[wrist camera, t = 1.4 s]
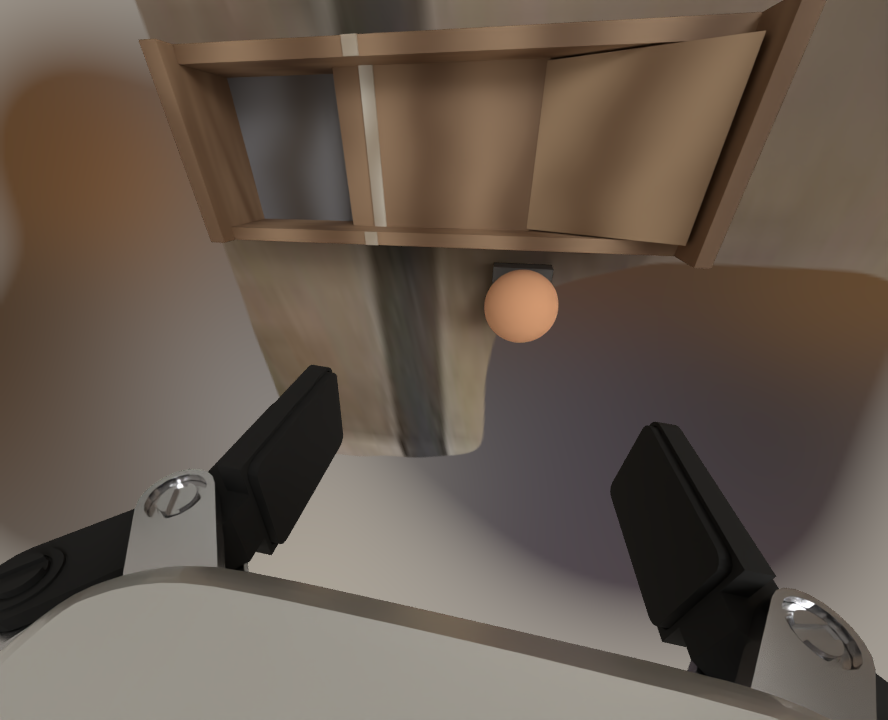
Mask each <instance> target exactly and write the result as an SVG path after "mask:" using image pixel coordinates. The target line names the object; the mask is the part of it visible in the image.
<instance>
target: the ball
mask: <svg viewBox="0 0 888 720" xmlns="http://www.w3.org/2000/svg"><path fill="white" fill-rule="evenodd" d="M484 311H485V316H486V320H487V322H488V324H489V326H490V327H491V329H492V330H493V331H494V332H495V333H496V334H497V335H498V336H500V337H501V338H503V339H505V340H508V341H511V342H518V343H522V342H529V341H533V340H535V339H537V338H539V337H541V336H542V335H544V334H545V333H546V332H547V331H548V330H549V329H550V328H551V326H552V325H553V323H554V321H555V319H556V316H557V313H558V297H557V294H556V291H555V289H554V287H553V285H552V284H551V282H550V281H549V280H548V279H547V278H545V277H544V276H543V275H541V274H539V273H537V272H535V271H531V270H514V271H511V272H508V273H506V274H504V275H502V276H501V277H499V278H498V279H497V280H496V281H495V282H494V283H493V284H492V286H491V287H490V289H489V290H488V293H487V295H486V299H485V304H484Z"/></svg>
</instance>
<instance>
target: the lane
mask: <svg viewBox="0 0 888 720" xmlns="http://www.w3.org/2000/svg"><path fill="white" fill-rule="evenodd" d="M826 1H827V0H783V1H781V2H780V3H778V4H776V5H774V6H772V7H771V8H769V9H767V10H765V11H764V12H752V13H734V14H716V15H698V16H679V17H661V18H643V19H625V20H607V21H588V22H570V23H552V24H534V25H516V26H498V27H479V28H461V29H443V30H425V31H407V32H388V33H370V34H356V33H355V34H340V35H334V36H316V37H298V38H279V39H261V40H243V41H225V42H207V43H189V44H169V43H166V42H163V41H160V40H157V39H144V40H139V43H140V45H141V48H142V51H143V54H144V57H145V59H146V62H147V65H148V67H149V70H150V73H151V76H152V79H153V81H154V84H155V87H156V90H157V92H158V95H159V98H160V101H161V104H162V106H163V109H164V112H165V115H166V117H167V120H168V123H169V126H170V129H171V131H172V134H173V137H174V140H175V142H176V145H177V148H178V151H179V154H180V156H181V159H182V162H183V165H184V167H185V170H186V173H187V176H188V179H189V181H190V184H191V187H192V190H193V192H194V195H195V198H196V201H197V204H198V206H199V209H200V212H201V214H202V217H203V220H204V223H205V226H206V229H207V231H208V234H209V237H210V239H211V242H222V243H225V242H228V241H232V240H235V239H237V240H263V241H289V242H316V243H342V244H366V245H395V246H421V247H447V248H474V249H500V250H526V251H553V252H579V253H605V254H632V255H658V256H675V257H677V258H678V259H680V260H682V261H683V262H685V263H687V264H688V265H690V266H692V267H693V268H709V269H711V268H712V265H713V263H714V261H715V258H716V256H717V254H718V251H719V249H720V247H721V245H722V242H723V240H724V238H725V235H726V233H727V231H728V228H729V226H730V224H731V221H732V219H733V217H734V214H735V212H736V210H737V207H738V205H739V203H740V200H741V198H742V196H743V193H744V191H745V189H746V186H747V184H748V182H749V179H750V177H751V175H752V172H753V170H754V168H755V166H756V163H757V161H758V159H759V156H760V154H761V152H762V149H763V147H764V145H765V142H766V140H767V138H768V135H769V133H770V131H771V128H772V126H773V124H774V121H775V119H776V117H777V114H778V112H779V110H780V107H781V105H782V103H783V100H784V98H785V96H786V93H787V91H788V89H789V86H790V84H791V82H792V80H793V77H794V75H795V73H796V70H797V68H798V66H799V63H800V61H801V59H802V56H803V54H804V52H805V49H806V47H807V45H808V42H809V40H810V38H811V35H812V33H813V31H814V28H815V26H816V24H817V21H818V19H819V17H820V14H821V12H822V10H823V7H824V5H825V3H826Z"/></svg>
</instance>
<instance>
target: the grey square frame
mask: <svg viewBox="0 0 888 720" xmlns="http://www.w3.org/2000/svg"><path fill="white" fill-rule="evenodd" d="M514 270H531V271H535V272H537V273H539V274H541V275H543V276H544V277H545V278H547V279H548V280H549V281H550V282H551V281H552V276H553V267H552V265H537V264H514V263H494V267H493V280H492V284H493V283H494V282H495V281H496V280H497V279H498V278H499V277H501V276H502V275H504V274H506V273H508V272H511V271H514Z"/></svg>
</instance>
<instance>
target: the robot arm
mask: <svg viewBox="0 0 888 720" xmlns="http://www.w3.org/2000/svg"><path fill="white" fill-rule="evenodd" d="M342 439H343V429H342V420H341V411H340V401H339V392H338V383H337V375H336V374H335V373H332V370H331V368H329V367H323V366H317V365H310V366H309V367H308V368H307V369H306V370H305V371H304V372H303V373H302V374H301V375H300V376H299V377H298V379H297V380H296V381H295V382H294V383H293V384H292V385H291V386H290V387H289V388H288V389H287V390H286V391H285V392H284V393H283V394H282V396H281V397H280V398H279V399H278V400H277V401H276V402H275V403H274V404H272V405H271V406H270V407H269V408H268V409H267V410H266V411H265V412H264V413H263V414H262V415H261V416H260V418H259V419H258V420H257V421H256V422H255V423H254V424H253V425H252V426H251V427H250V428H249V429H248V430H247V431H246V432H245V433H244V434H243V435H242V437H241V438H240V439H239V440H238V441H237V442H236V443H235V444H234V445H233V446H232V447H231V448H230V449H229V450H228V451H227V452H226V454H225V455H224V456H223V457H222V458H221V459H220V460H219V461H218V462H217V463H216V464H215V465H214V466H213V467H212V468H211V469H210V470H209V472H207V471H204V470H201V469H188V470H183V471H179V472H176V473H173V474H171V475H168V476H166V477H164V478H162V479H161V480H159V481H157V482H156V483H154V484H153V485H152V486H151V487H149V488H148V489H147V490H146V491H145V492H144V493H143V494H142V496H141V497H140V498H139V500H138V502H137V504H136V507H135V509H133V510H130V511H128V512H125V513H122V514H120V515H117V516H114V517H112V518H109V519H107V520H104V521H101V522H99V523H96V524H93V525H91V526H88V527H85V528H83V529H80V530H78V531H75V532H72V533H70V534H67V535H64V536H62V537H59V538H56V539H54V540H51V541H49V542H46V543H44V544H41V545H38V546H36V547H33V548H31V549H29V550H26V551H24V552H22V553H20V554H18V555H16V556H14V557H13V558H11V559H9V560H8V561H6V562H5V563H3V564H1V565H0V720H888V682H886V681H885V680H884V679H883V678H881V677H880V676H879V675H877V674H876V673H875V666H874V662H873V658H872V656H871V654H870V652H869V650H868V649H867V647H866V645H865V643H864V642H863V641H862V639H861V638H860V637H859V636H858V634H857V633H856V632H855V631H854V629H853V628H852V627H851V626H850V625H849V624H848V623H847V622H846V621H845V620H844V619H843V618H842V617H840V616H839V615H838V614H837V613H836V612H835V611H833V610H832V609H831V608H829V607H828V606H827V605H825V604H824V603H822V602H821V601H819V600H817V599H816V598H814V597H812V596H810V595H809V594H806V593H804V592H801V591H798V590H796V589H790V588H781V589H779V588H778V587H777V585H776V584H775V582H774V580H773V579H774V578H775V577H776V575H775V574H774V572H773V571H772V569H771V568H770V566H769V564H768V563H767V561H766V560H765V558H764V557H763V555H762V554H761V552H760V551H759V549H758V548H757V546H756V544H755V543H754V541H753V540H752V538H751V537H750V535H749V534H748V532H747V531H746V529H745V528H744V526H743V525H742V523H741V521H740V520H739V518H738V517H737V515H736V514H735V512H734V511H733V509H732V508H731V506H730V504H729V503H728V501H727V500H726V498H725V497H724V495H723V494H722V492H721V491H720V489H719V488H718V486H717V485H716V483H715V481H714V480H713V478H712V477H711V475H710V474H709V472H708V471H707V469H706V467H705V466H704V464H703V463H702V461H701V460H700V458H699V457H698V455H697V454H696V452H695V451H694V449H693V447H692V446H691V444H690V443H689V441H688V440H687V438H686V437H685V435H684V434H683V432H682V431H681V429H680V428H679V427H678V426H676V425H672V424H665V423H660V422H653V423H651V424H650V426H645V427H644V428H643V429H642V431H641V433H640V434H639V436H638V438H637V440H636V442H635V443H634V445H633V447H632V449H631V450H630V452H629V454H628V456H627V458H626V459H625V461H624V463H623V465H622V466H621V468H620V470H619V472H618V474H617V475H616V477H615V479H614V481H613V482H612V485H611V491H610V492H611V498H612V501H613V504H614V508H615V510H616V514H617V517H618V520H619V523H620V527H621V530H622V533H623V536H624V539H625V543H626V546H627V549H628V552H629V555H630V558H631V562H632V565H633V568H634V571H635V574H636V577H637V581H638V584H639V587H640V590H641V593H642V597H643V600H644V603H645V606H646V609H647V612H648V616H649V618H650V620H651V622H652V623H653V624H654V625H655V626H657V627H658V630H659V633H660V636H661V639H662V642H666V643H670V644H675V645H679V646H684V647H687V650H688V652H689V655H690V658H691V662H690V664H689V667H688V670H687V671H685V670H681V669H677V668H673V667H669V666H665V665H661V664H657V663H653V662H649V661H645V660H640V659H636V658H632V657H628V656H623V655H619V654H615V653H610V652H606V651H602V650H597V649H593V648H589V647H585V646H580V645H576V644H571V643H567V642H563V641H559V640H554V639H550V638H546V637H542V636H537V635H533V634H528V633H524V632H520V631H515V630H511V629H507V628H502V627H498V626H493V625H489V624H485V623H480V622H476V621H471V620H467V619H463V618H458V617H454V616H449V615H445V614H440V613H436V612H432V611H427V610H423V609H418V608H414V607H410V606H405V605H401V604H396V603H391V602H387V601H383V600H378V599H373V598H369V597H364V596H360V595H356V594H351V593H346V592H342V591H337V590H333V589H328V588H323V587H319V586H315V585H310V584H306V583H301V582H296V581H290V580H286V579H281V578H276V577H271V576H266V575H261V574H256V573H251V572H249V571H248V562H249V561H250V560H251V559H252V557H253V555H254V554H255V552H260V553H264V554H268V555H272V554H273V552H274V550H275V548H276V547H277V545H278V544H283V543H284V542H285V541H286V539H287V538H288V536H289V534H290V533H291V531H292V529H293V528H294V525H295V524H296V522H297V521H298V519H299V517H300V515H301V514H302V512H303V510H304V508H305V507H306V505H307V503H308V501H309V500H310V498H311V496H312V494H313V493H314V491H315V489H316V487H317V486H318V484H319V482H320V480H321V479H322V477H323V475H324V473H325V472H326V470H327V468H328V466H329V464H330V463H331V461H332V459H333V457H334V456H335V454H336V452H337V451H338V449H339V447H340V445H341V443H342Z"/></svg>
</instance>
